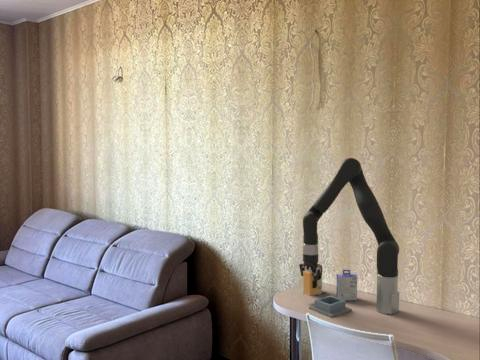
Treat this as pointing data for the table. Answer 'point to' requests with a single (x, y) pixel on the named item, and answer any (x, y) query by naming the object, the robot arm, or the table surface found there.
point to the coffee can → (319, 282)
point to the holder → (330, 306)
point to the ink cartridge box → (347, 286)
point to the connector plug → (309, 283)
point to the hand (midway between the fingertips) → (310, 286)
